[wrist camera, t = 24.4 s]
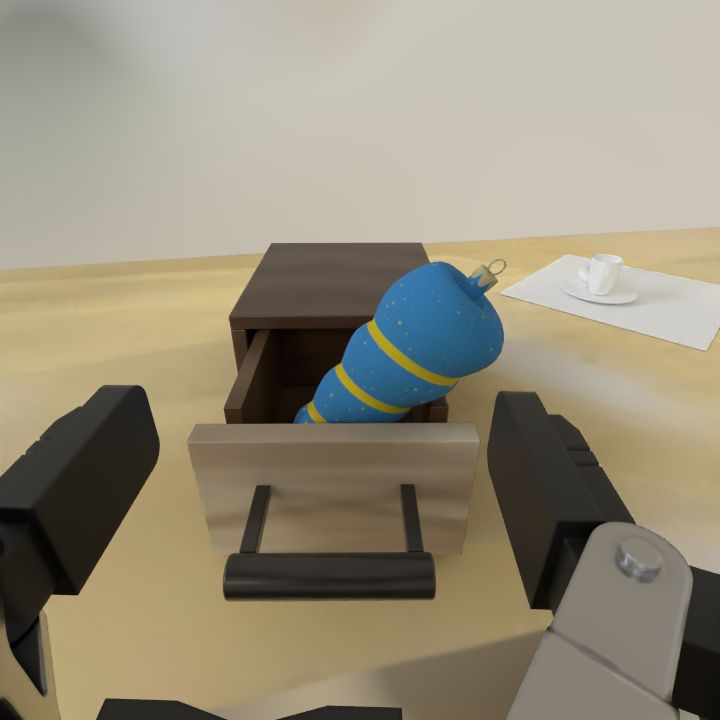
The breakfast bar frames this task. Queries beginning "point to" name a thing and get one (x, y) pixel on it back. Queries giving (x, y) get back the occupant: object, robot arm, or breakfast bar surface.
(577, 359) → the breakfast bar surface
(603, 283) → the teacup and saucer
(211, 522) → the drawer
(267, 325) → the cabinet
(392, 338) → the ornament
